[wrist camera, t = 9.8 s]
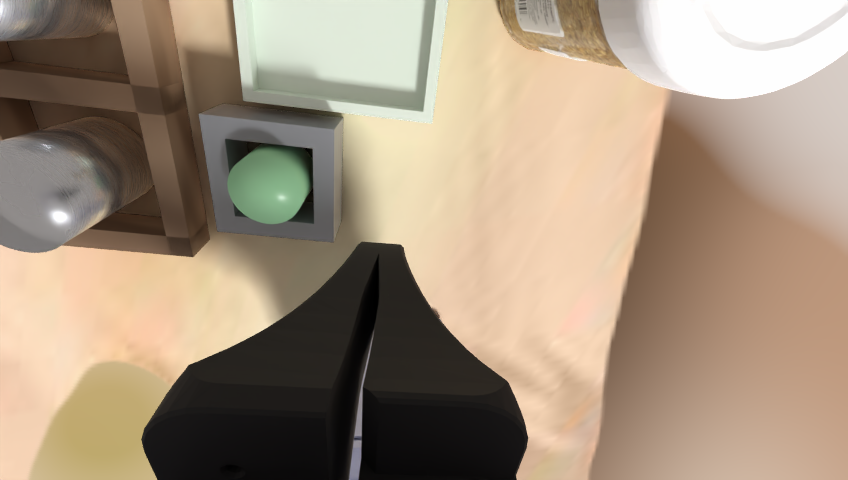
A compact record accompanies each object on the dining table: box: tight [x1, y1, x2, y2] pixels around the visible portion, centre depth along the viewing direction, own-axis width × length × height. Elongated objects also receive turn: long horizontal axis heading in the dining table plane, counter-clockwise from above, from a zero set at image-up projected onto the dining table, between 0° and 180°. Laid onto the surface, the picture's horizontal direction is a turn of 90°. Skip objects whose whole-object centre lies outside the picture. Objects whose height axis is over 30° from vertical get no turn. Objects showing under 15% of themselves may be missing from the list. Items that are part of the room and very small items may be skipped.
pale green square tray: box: [233, 0, 448, 124], centre depth 17 cm, size 9×9×1 cm
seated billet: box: [0, 116, 154, 253], centre depth 18 cm, size 4×4×6 cm
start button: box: [227, 143, 313, 224], centre depth 19 cm, size 3×3×3 cm
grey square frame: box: [199, 103, 343, 242], centre depth 20 cm, size 6×6×2 cm
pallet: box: [0, 0, 210, 257], centre depth 18 cm, size 17×9×2 cm, turn 173°
